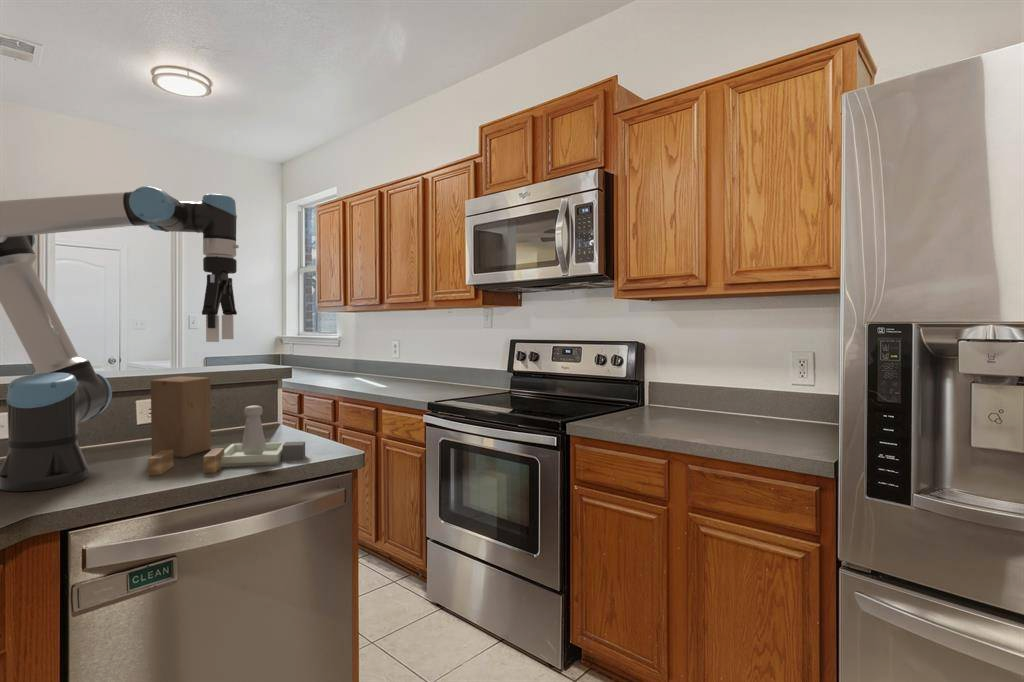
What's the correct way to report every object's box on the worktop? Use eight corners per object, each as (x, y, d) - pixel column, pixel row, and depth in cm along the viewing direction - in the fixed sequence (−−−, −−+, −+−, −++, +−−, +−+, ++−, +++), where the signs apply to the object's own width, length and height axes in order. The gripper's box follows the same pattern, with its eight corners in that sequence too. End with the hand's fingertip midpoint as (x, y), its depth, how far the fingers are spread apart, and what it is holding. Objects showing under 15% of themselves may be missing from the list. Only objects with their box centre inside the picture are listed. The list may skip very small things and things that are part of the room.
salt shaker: (267, 452, 148) (267, 403, 147) (264, 457, 142) (264, 407, 142) (243, 453, 146) (243, 404, 145) (239, 458, 140) (239, 408, 140)
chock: (282, 460, 143) (282, 445, 143) (285, 456, 147) (285, 442, 147) (302, 460, 144) (303, 445, 144) (305, 456, 148) (305, 441, 148)
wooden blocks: (148, 475, 128) (148, 458, 127) (162, 466, 135) (161, 450, 135) (215, 472, 131) (215, 455, 131) (224, 463, 139) (224, 447, 139)
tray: (216, 467, 136) (216, 457, 135) (231, 453, 149) (231, 443, 149) (277, 464, 139) (277, 454, 139) (286, 451, 152) (286, 442, 152)
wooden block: (183, 458, 143) (182, 381, 142) (150, 455, 145) (149, 379, 144) (211, 449, 153) (211, 377, 152) (180, 446, 155) (179, 375, 154)
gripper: (222, 252, 129) (223, 343, 130) (247, 262, 154) (247, 338, 155) (187, 251, 128) (187, 342, 129) (217, 261, 152) (218, 338, 153)
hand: (220, 340), depth 142 cm, fingers open, 13 cm apart
